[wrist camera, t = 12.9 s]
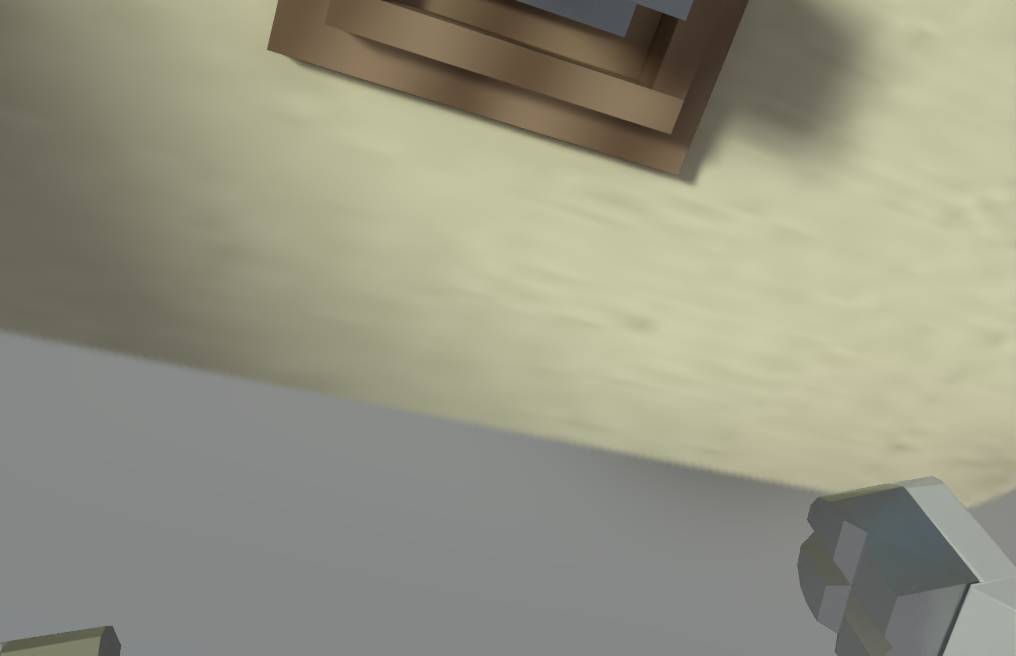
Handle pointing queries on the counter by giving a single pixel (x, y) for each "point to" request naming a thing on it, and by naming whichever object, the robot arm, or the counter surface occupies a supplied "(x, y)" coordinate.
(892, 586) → the robot arm
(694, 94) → the brown wooden square tray
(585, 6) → the grey block on base
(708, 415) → the counter surface
